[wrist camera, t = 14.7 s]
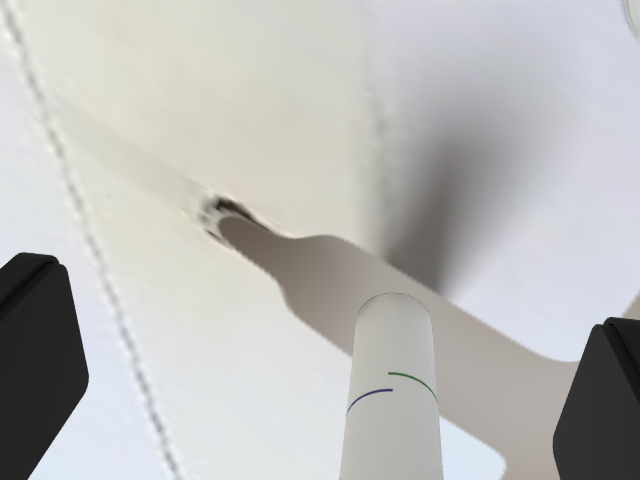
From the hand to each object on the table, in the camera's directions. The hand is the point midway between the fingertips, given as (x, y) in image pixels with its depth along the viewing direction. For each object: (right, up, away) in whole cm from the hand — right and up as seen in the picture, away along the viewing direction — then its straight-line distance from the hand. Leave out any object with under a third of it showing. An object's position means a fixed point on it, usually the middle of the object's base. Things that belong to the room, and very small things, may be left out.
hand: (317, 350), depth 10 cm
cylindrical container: (+7, -6, +45) cm, 46 cm away
